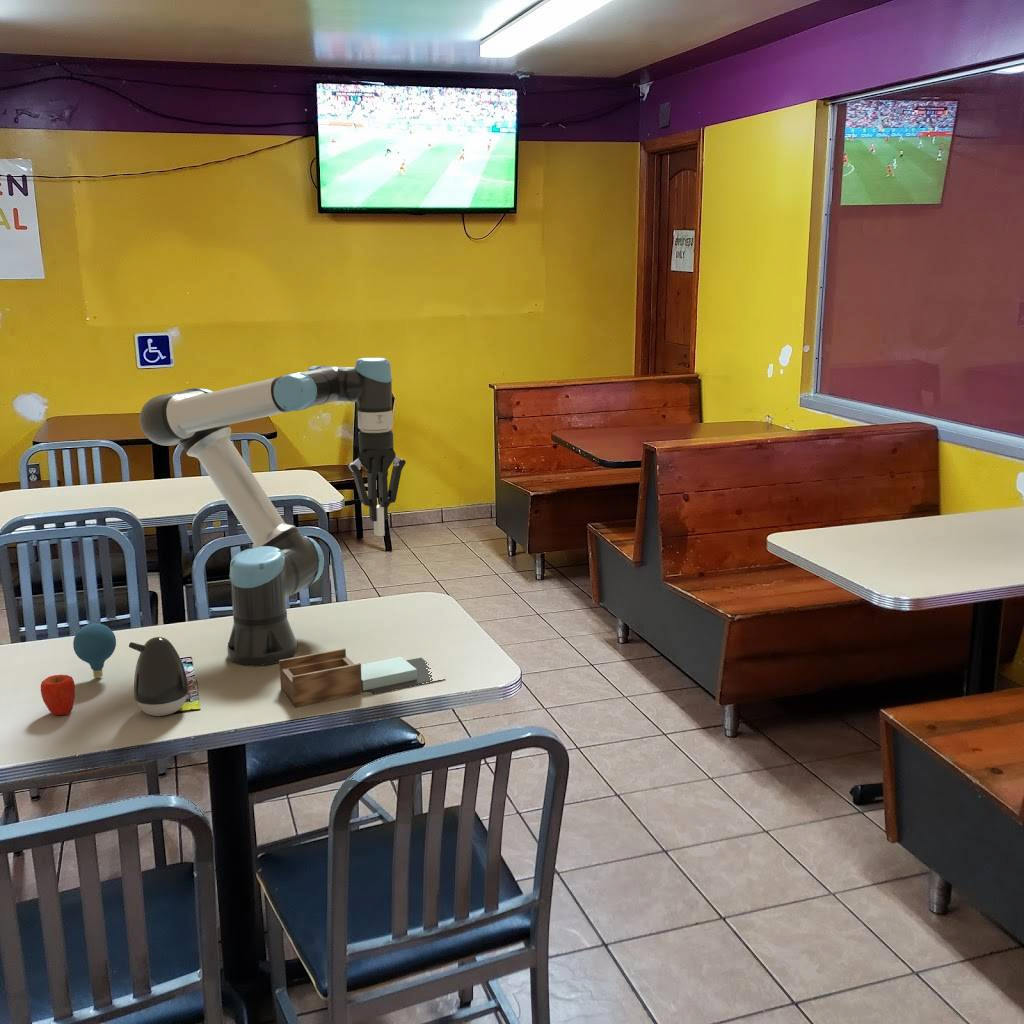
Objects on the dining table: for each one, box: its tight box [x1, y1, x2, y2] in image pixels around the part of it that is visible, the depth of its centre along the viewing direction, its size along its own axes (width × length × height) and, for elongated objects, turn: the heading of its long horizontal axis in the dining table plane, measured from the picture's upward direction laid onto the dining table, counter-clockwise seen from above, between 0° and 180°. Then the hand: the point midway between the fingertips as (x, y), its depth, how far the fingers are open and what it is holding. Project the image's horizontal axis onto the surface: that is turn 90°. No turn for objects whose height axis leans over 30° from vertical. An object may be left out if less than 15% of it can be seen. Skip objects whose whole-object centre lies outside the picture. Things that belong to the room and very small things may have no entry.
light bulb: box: [72, 622, 117, 679], centre depth 215 cm, size 8×8×12 cm
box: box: [278, 648, 363, 708], centre depth 209 cm, size 14×10×6 cm
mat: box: [368, 657, 433, 695], centre depth 217 cm, size 16×13×1 cm
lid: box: [361, 656, 417, 692], centre depth 215 cm, size 12×8×2 cm
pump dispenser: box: [128, 636, 190, 717], centre depth 199 cm, size 10×10×15 cm
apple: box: [40, 674, 76, 716], centre depth 199 cm, size 6×6×8 cm
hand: (379, 534), depth 228 cm, fingers closed
